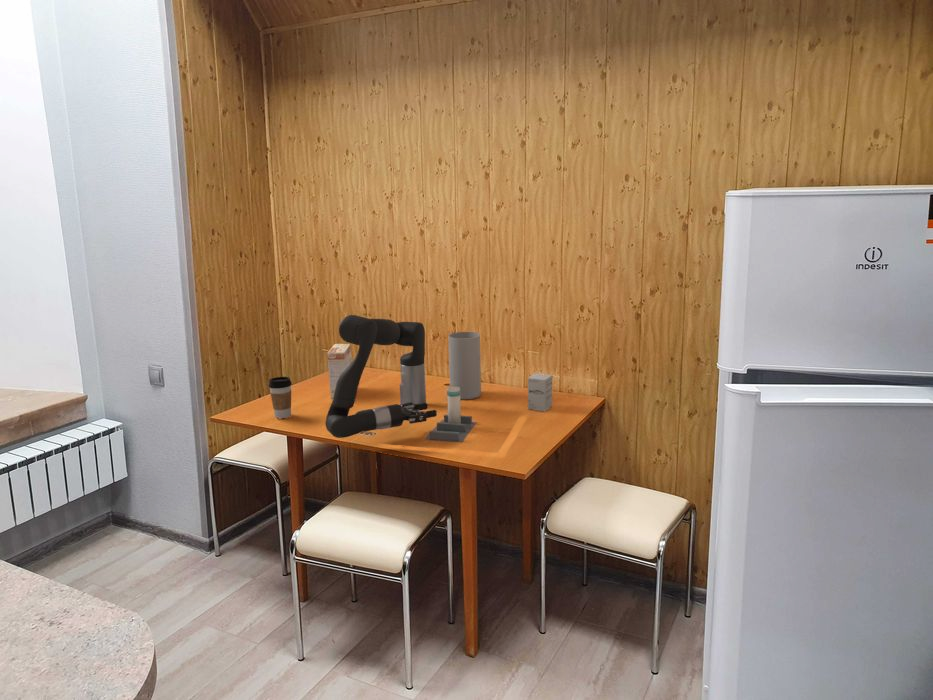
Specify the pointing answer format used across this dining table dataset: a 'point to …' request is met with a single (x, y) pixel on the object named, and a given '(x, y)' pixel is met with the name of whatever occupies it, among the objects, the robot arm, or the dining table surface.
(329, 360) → the coffeecake box
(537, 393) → the supplement box
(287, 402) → the coffee cup
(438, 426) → the grey twin-rail base
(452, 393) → the white bottle teal band
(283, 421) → the dining table surface
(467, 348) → the cylinder vase
